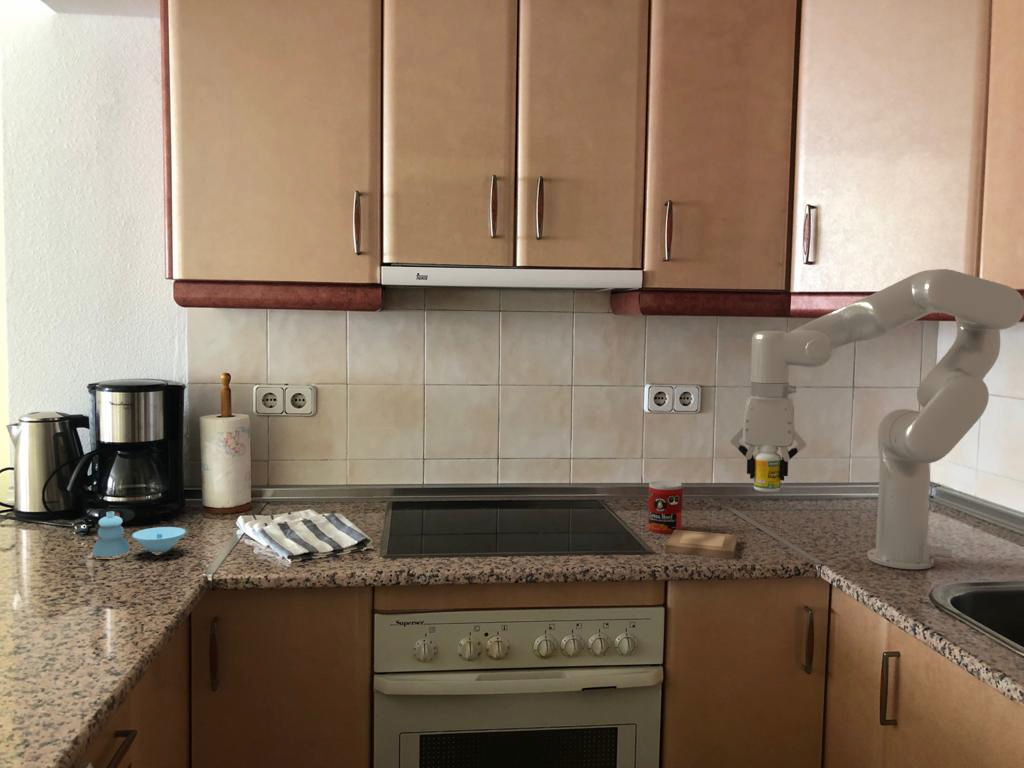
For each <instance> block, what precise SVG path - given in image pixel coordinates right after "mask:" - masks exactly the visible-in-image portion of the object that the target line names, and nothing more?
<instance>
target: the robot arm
mask: <svg viewBox="0 0 1024 768" xmlns="http://www.w3.org/2000/svg"><path fill="white" fill-rule="evenodd" d="M933 313H943V314H946V315H948V316H951V317H954V319H955V322H956V330H957V331H956V337H955V340H954V342H953V344H952V345H951V346H950V348H949V349H948V350H947V352H946V353H945V354H944V355H943V357H942V358H941V359H940V360H939V361H938V362H937V363H936V364H935V366H934V367H933V368H932V369H931V370H930V371H929V373H928V374H927V375H926V376H925V377H924V378H923V379H922V380H921V382H920V383H919V384H918V387H917V390H916V399H917V401H918V403H919V405H920V406H921V407H922V408H921V410H920V411H917V410H913V409H906V408H901V409H895V410H892V411H890V412H889V413H887V414H886V415H885V416H884V417H883V418H882V419H881V421H880V423H879V425H878V430H877V446H878V457H879V458H878V459H879V478H878V479H879V480H878V494H877V495H878V496H877V497H878V498H877V515H876V516H877V519H876V538H875V540H876V541H875V548H873V549H869V550H868V551H867V558H868V560H869V561H871V562H872V563H875V564H877V565H880V566H885V567H889V568H893V569H901V570H926V569H930V568H932V567H933V566H934V564H935V557H936V558H937V557H938V558H943V559H952V556H953V551H952V548H945V547H943V546H939V545H938V546H937V545H936V546H935V545H931V544H930V543H929V541H928V538H927V537H928V523H929V522H928V520H929V519H928V518H929V500H930V486H931V470H930V464H933V463H936V462H938V461H940V460H942V459H943V458H945V457H946V456H947V455H948V454H949V453H950V452H951V451H952V450H953V449H954V448H955V447H956V446H957V444H959V442H960V441H961V440H962V439H963V438H964V437H965V436H966V435H967V433H969V431H970V430H971V429H972V428H973V427H974V426H975V424H976V423H977V422H978V421H979V420H980V419H981V417H982V416H983V415H984V413H985V410H986V409H987V406H988V403H989V399H990V397H989V396H990V395H989V388H988V386H987V384H986V382H985V381H984V378H985V377H986V376H987V375H988V373H989V372H990V370H992V368H993V367H994V365H995V363H996V362H997V360H998V358H999V355H1000V350H1001V331H1002V330H1007V329H1010V328H1012V327H1014V326H1015V325H1017V324H1018V323H1019V322H1020V321H1021V319H1022V318H1023V316H1024V297H1023V296H1022V295H1021V293H1020V292H1019V291H1017V290H1016V289H1014V288H1013V287H1012V286H1010V285H1009V286H1008V285H1007V284H1003V283H999V282H996V281H991V280H989V279H985V278H981V277H978V276H974V275H970V274H967V273H964V272H961V271H957V270H953V269H947V268H940V269H939V268H938V269H927V270H922V271H920V272H917V273H914V274H912V275H909V276H908V277H906V278H903V279H901V280H899V281H897V282H895V283H893V284H891V285H889V286H887V287H885V288H883V289H881V290H879V291H877V292H874V293H872V294H870V295H868V296H866V297H864V298H861V299H858V300H856V301H853V302H852V303H850V304H847V305H846V306H844V307H843V306H842V307H841V308H838V309H836V310H834V311H832V312H829V313H827V314H824V315H822V316H820V317H817V318H815V319H814V320H811V321H810V322H807V323H804V324H803V325H801V326H799V327H796V328H795V329H793V330H791V331H790V332H786V331H781V330H760V331H759V330H758V331H756V332H754V333H753V335H752V338H751V356H750V357H751V363H750V366H751V367H750V396H746V400H745V406H744V411H743V422H742V427H741V428H740V430H739V431H738V432H737V433H736V434H735V435H734V436H733V437H732V438H731V439H730V444H732V445H733V447H735V448H736V449H737V450H738V451H739V452H740V453H741V455H743V456H744V457H745V459H746V474H747V475H749V478H750V479H751V480H752V479H753V480H754V456H755V454H754V451H755V449H756V447H758V446H763V445H770V446H774V447H778V448H779V449H780V452H781V477H780V482H781V481H783V482H784V481H785V477H788V476H789V475H788V474H789V461H790V460H791V459H792V458H793V457H795V456H796V455H797V454H798V453H799V452H801V451H802V450H803V449H804V448H806V447H807V442H806V441H805V440H804V438H803V437H801V435H800V434H799V433H798V431H796V429H795V409H794V408H795V407H794V400H793V398H791V397H789V395H791V394H793V393H794V394H796V393H797V386H793V385H791V384H790V366H795V367H796V366H797V367H803V368H809V369H811V368H819V367H822V366H824V365H825V364H827V363H828V362H829V361H830V360H831V358H832V356H833V353H834V350H835V349H837V348H840V347H842V346H846V345H850V344H853V343H857V342H863V341H868V340H869V341H870V340H874V339H877V338H881V337H883V336H885V335H888V334H891V333H892V332H893V331H895V330H898V329H900V328H902V327H904V326H906V325H908V324H910V323H913V322H914V321H916V320H919V319H922V318H923V317H925V316H927V315H930V314H933ZM741 439H742V442H743V443H741V441H740V440H741ZM794 441H795V442H796V443H797V444H796V445H795V446H793V444H794ZM744 444H745V445H747V446H748V448H747V447H746V446H745V445H744ZM792 446H793V447H792ZM788 447H792V448H791V449H790V450H789V449H788Z"/></svg>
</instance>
